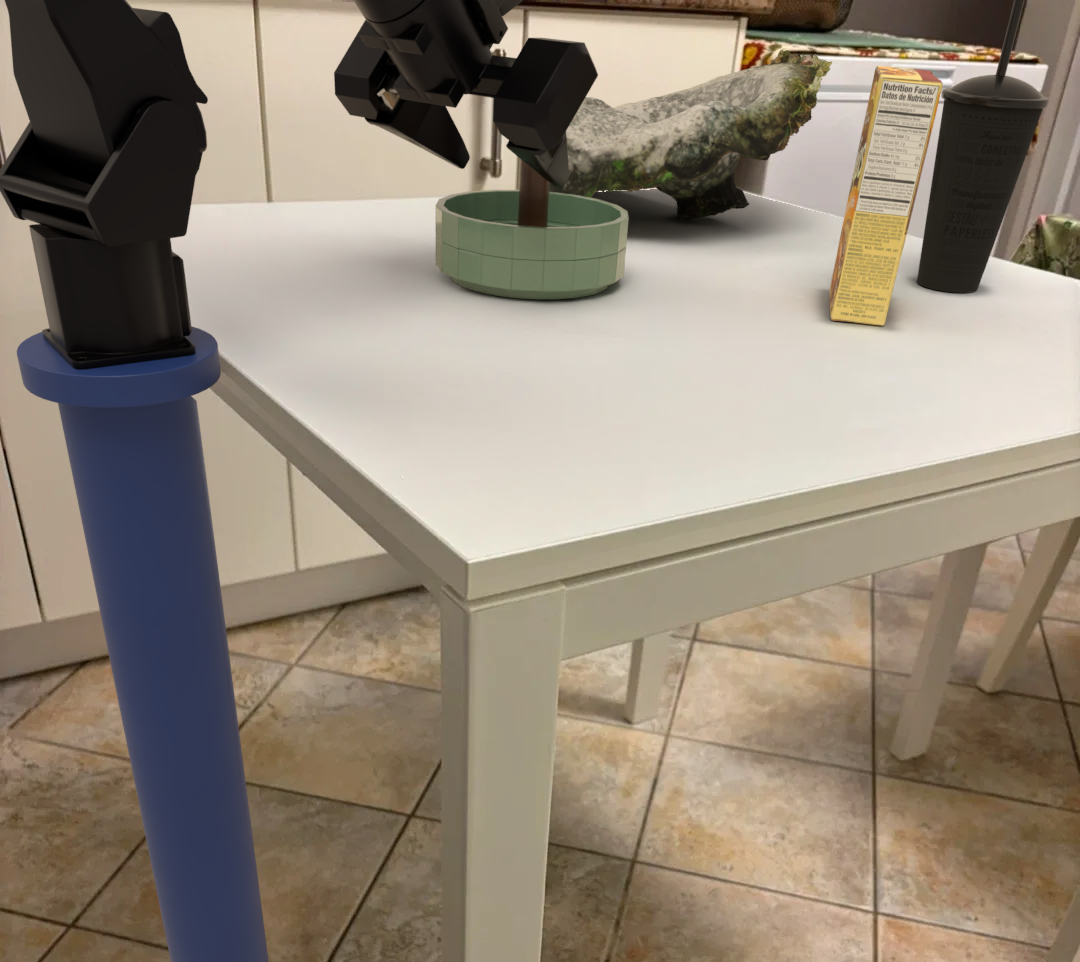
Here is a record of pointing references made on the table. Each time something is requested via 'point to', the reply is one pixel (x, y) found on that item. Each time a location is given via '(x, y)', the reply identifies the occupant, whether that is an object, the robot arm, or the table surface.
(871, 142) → the candy box
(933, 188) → the drinking cup
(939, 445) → the table surface
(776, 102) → the mossy rock
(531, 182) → the brown wooden peg
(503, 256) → the mixing bowl
